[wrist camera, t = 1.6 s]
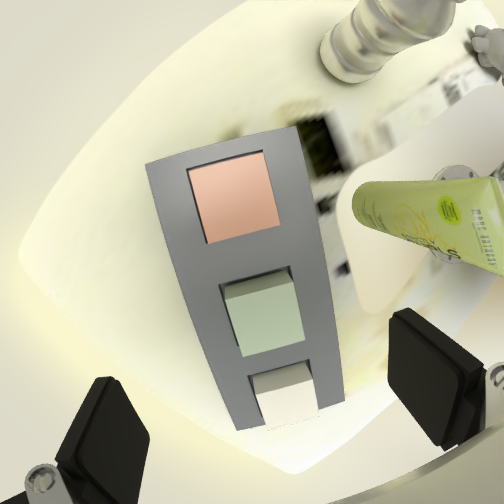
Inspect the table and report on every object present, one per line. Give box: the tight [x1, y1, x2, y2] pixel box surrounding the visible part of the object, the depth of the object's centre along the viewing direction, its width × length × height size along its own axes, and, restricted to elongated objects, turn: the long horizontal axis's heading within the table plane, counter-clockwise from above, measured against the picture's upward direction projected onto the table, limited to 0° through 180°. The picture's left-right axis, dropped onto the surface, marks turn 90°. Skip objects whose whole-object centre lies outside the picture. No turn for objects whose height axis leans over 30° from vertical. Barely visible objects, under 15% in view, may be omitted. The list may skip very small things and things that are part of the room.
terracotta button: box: [189, 152, 281, 244], centre depth 25 cm, size 6×6×4 cm
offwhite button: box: [252, 361, 319, 431], centre depth 30 cm, size 6×6×4 cm
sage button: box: [224, 270, 305, 357], centre depth 28 cm, size 6×6×4 cm
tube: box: [352, 176, 504, 277], centre depth 21 cm, size 6×5×20 cm
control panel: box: [145, 126, 345, 431], centre depth 30 cm, size 14×32×2 cm, turn 14°
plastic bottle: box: [320, 0, 465, 83], centre depth 17 cm, size 6×7×20 cm
